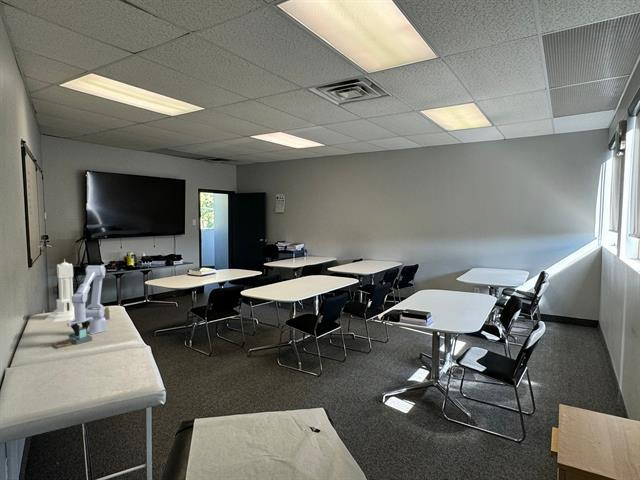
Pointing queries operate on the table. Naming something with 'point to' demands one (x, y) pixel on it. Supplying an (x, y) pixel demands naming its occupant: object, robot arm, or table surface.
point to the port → (78, 340)
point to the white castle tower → (64, 294)
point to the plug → (82, 332)
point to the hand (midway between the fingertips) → (80, 334)
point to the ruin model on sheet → (106, 313)
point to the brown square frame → (62, 345)
